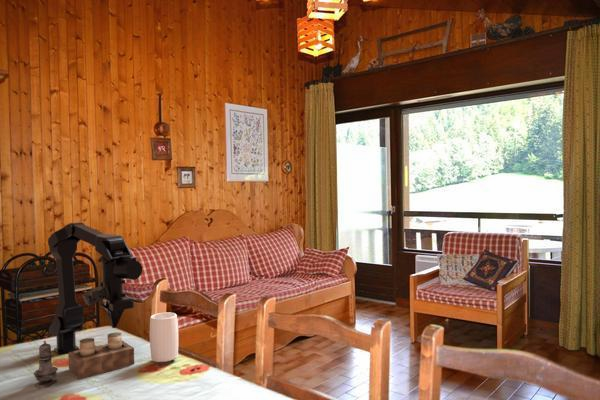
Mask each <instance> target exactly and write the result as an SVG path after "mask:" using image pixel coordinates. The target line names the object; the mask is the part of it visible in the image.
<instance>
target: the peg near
mask: <svg viewBox="0 0 600 400" xmlns="http://www.w3.org/2000/svg"><path fill="white" fill-rule="evenodd" d="M79 350H80V357H83V356H88V355H92V354H95V338H92V337H87V338H82V339H80V340H79Z"/></svg>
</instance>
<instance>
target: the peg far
mask: <svg viewBox="0 0 600 400" xmlns="http://www.w3.org/2000/svg"><path fill="white" fill-rule="evenodd" d="M122 338H123V337H122V332H119V331H118V332H117V331H116V332H110V333H107V344H108V350H113V349H117V348H121V347H122V341H123V340H122Z"/></svg>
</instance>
